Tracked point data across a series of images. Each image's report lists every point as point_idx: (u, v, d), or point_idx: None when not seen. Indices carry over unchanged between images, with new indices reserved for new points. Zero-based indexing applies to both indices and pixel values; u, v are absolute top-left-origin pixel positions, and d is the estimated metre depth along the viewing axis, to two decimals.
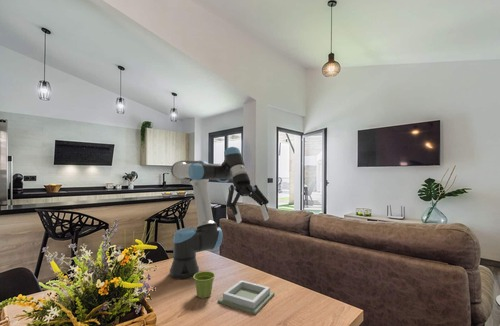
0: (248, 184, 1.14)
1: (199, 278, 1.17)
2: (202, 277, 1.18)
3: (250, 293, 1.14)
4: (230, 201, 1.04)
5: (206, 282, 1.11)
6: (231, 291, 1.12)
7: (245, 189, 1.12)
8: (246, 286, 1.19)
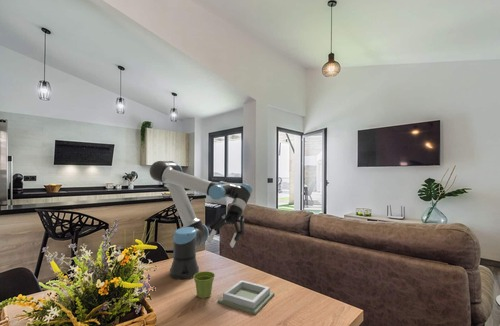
0: None
1: (199, 278, 1.17)
2: (202, 277, 1.18)
3: (250, 293, 1.14)
4: None
5: (206, 282, 1.11)
6: (231, 291, 1.12)
7: None
8: (246, 286, 1.19)
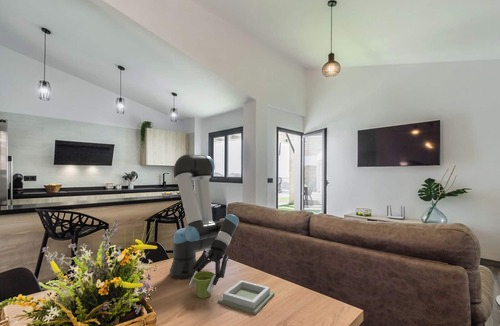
0: None
1: (199, 278, 1.17)
2: (202, 277, 1.18)
3: (250, 293, 1.14)
4: None
5: (207, 282, 1.11)
6: (231, 291, 1.12)
7: None
8: (246, 286, 1.19)
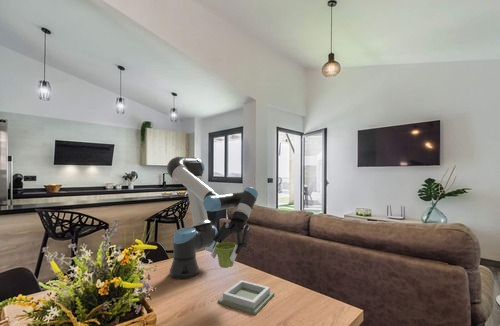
0: None
1: (220, 249, 1.15)
2: (223, 248, 1.15)
3: (250, 293, 1.14)
4: None
5: (229, 251, 1.08)
6: (231, 291, 1.12)
7: None
8: (246, 286, 1.19)
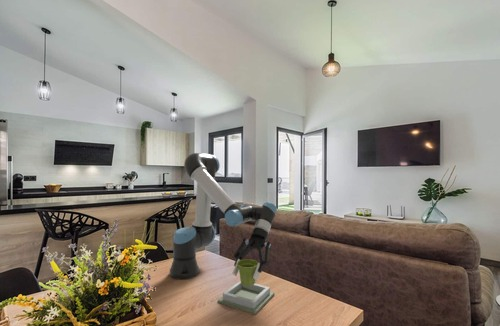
0: None
1: (241, 266, 1.14)
2: (244, 265, 1.15)
3: (250, 293, 1.14)
4: None
5: (252, 269, 1.08)
6: (231, 291, 1.12)
7: None
8: (246, 286, 1.19)
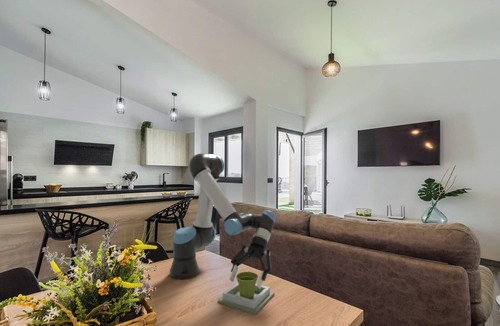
0: None
1: (241, 279, 1.14)
2: (243, 277, 1.15)
3: None
4: None
5: (251, 282, 1.08)
6: (231, 291, 1.12)
7: None
8: None
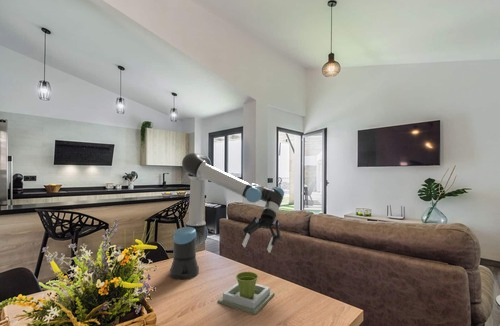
0: None
1: (241, 279, 1.14)
2: (243, 277, 1.15)
3: None
4: None
5: (251, 282, 1.08)
6: (231, 291, 1.12)
7: None
8: None
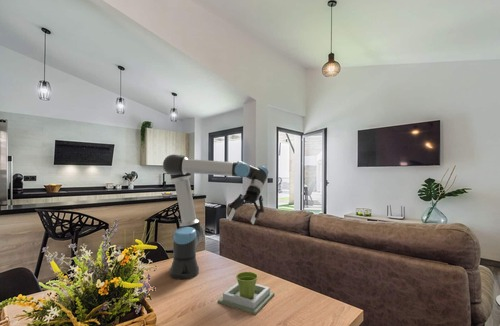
0: None
1: (241, 279, 1.14)
2: (243, 277, 1.15)
3: None
4: None
5: (251, 282, 1.08)
6: (231, 291, 1.12)
7: None
8: None
